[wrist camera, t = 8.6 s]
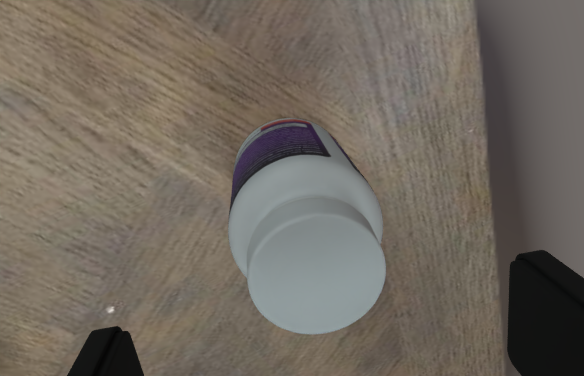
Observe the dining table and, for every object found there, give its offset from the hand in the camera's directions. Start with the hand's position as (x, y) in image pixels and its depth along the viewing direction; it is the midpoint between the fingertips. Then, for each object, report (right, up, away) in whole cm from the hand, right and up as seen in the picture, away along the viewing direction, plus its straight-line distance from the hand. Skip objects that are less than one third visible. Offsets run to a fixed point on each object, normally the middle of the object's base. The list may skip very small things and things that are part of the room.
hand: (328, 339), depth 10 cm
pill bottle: (-1, +5, +11) cm, 12 cm away
